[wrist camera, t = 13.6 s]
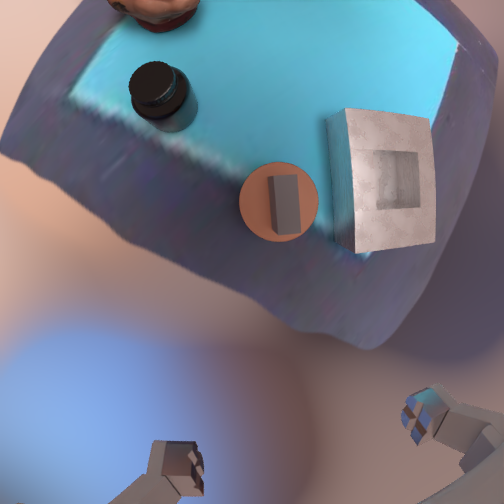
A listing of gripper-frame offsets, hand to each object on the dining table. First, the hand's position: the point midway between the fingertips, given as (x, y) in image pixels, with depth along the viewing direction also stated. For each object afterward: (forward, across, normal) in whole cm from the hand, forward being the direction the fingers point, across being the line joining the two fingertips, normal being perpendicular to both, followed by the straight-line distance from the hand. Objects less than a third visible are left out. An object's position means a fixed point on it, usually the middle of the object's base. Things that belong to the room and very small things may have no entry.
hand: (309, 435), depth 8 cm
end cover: (+31, -4, -6) cm, 32 cm away
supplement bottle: (+31, +8, -20) cm, 38 cm away
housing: (+31, -20, -8) cm, 38 cm away
